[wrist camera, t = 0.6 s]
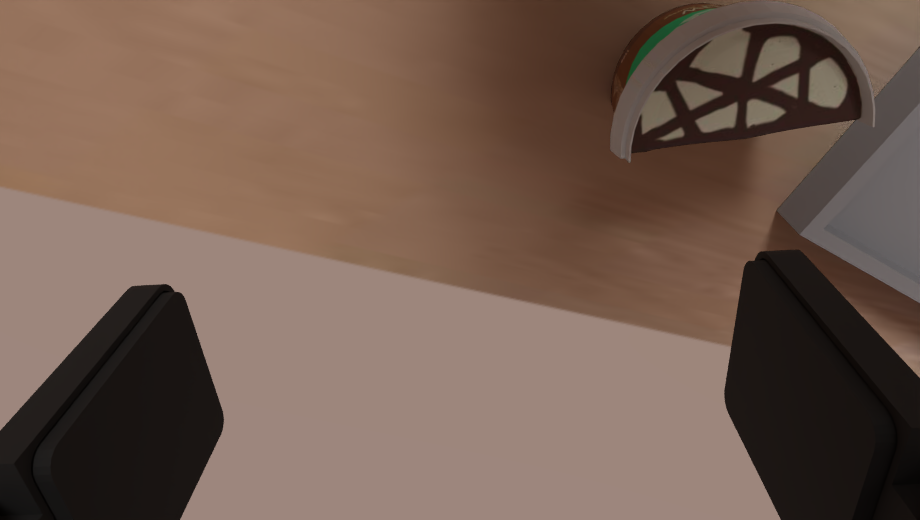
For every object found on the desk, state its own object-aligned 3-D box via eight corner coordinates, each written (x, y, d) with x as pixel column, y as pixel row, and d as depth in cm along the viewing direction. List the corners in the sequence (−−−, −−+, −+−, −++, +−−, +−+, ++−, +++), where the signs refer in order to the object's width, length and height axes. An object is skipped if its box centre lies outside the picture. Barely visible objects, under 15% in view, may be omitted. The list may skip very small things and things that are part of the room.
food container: (803, -38, 36) (909, -17, 27) (794, 73, 38) (886, 125, 30) (579, 1, 37) (610, 33, 28) (586, 106, 40) (617, 164, 31)
